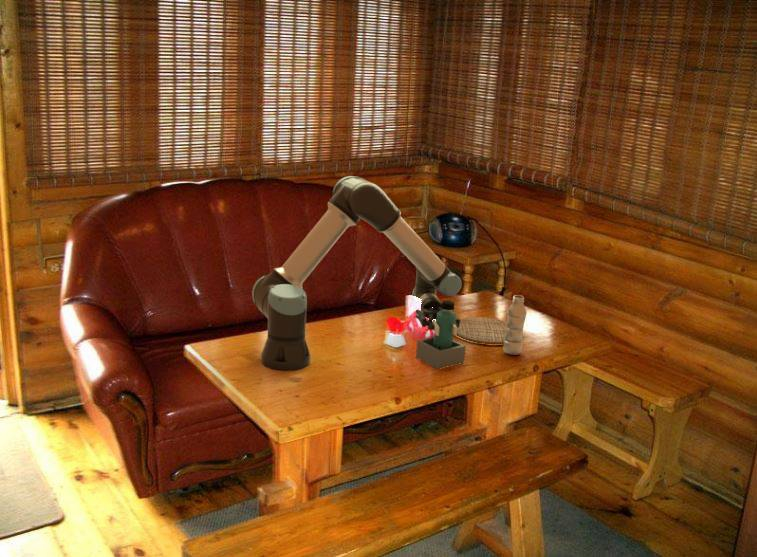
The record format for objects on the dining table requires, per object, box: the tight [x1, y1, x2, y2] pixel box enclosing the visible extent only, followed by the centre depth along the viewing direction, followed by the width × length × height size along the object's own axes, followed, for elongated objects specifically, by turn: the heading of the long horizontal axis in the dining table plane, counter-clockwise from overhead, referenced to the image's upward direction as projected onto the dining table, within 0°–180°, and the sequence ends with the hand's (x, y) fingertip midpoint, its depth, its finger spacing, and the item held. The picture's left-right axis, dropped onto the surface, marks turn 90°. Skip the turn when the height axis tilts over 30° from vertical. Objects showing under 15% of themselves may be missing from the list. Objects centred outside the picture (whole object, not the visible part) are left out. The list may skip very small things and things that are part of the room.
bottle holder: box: [415, 336, 466, 370], centre depth 263 cm, size 11×11×6 cm
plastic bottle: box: [502, 294, 527, 356], centre depth 271 cm, size 6×7×20 cm
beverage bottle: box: [432, 300, 457, 350], centre depth 261 cm, size 6×7×20 cm
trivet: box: [456, 316, 507, 344], centre depth 292 cm, size 25×25×2 cm
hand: (446, 331), depth 256 cm, fingers closed on beverage bottle, 5 cm apart
